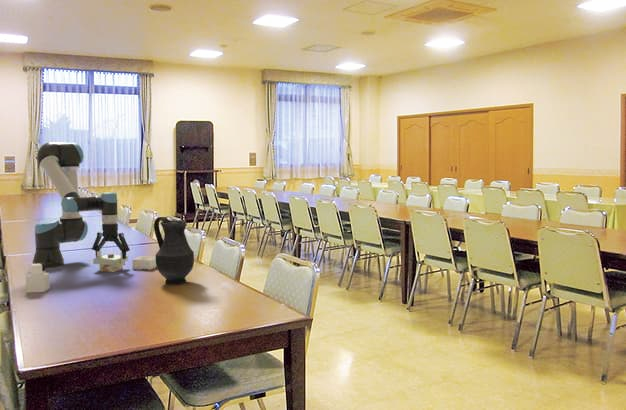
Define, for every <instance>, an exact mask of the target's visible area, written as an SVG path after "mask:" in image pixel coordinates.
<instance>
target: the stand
mask: <svg viewBox="0 0 626 410" xmlns="http://www.w3.org/2000/svg"><path fill="white" fill-rule="evenodd" d="M98 265H99V272H110V273H114V272H118V271H121V270H123V269H124V267H123V266H124V265H123V266H121V263H119V264H116V265H107V264H98Z"/></svg>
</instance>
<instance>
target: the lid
mask: <svg viewBox="0 0 626 410" xmlns="http://www.w3.org/2000/svg"><path fill="white" fill-rule="evenodd" d="M128 261H129V255H126V259H125V262H128ZM92 262H93V264H94V265H99V264H107V265H116V264H119V263H121V255H120V254H114V253H110V254H109V253H108V254H106V255H101V257H98V258H97V257H95V258H92Z"/></svg>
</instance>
